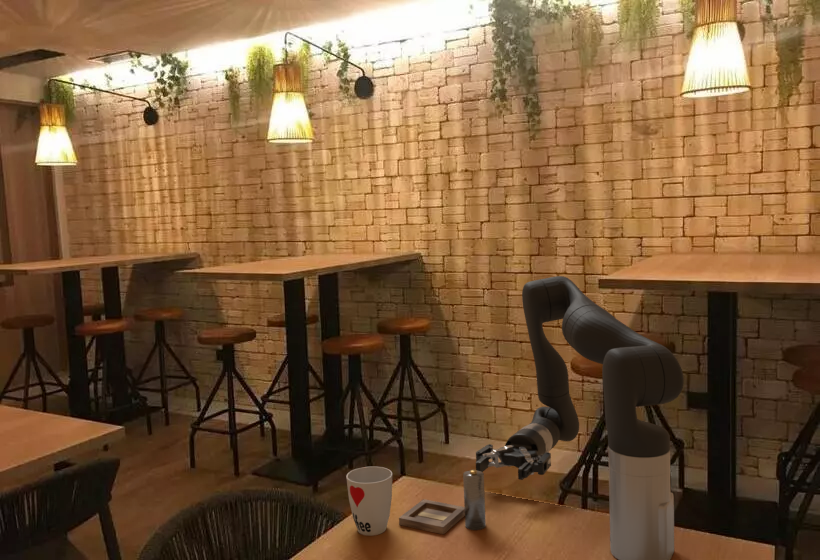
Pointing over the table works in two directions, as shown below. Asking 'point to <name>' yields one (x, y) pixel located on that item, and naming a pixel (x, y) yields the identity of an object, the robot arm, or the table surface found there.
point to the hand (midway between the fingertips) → (498, 471)
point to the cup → (370, 498)
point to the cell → (474, 500)
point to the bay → (432, 516)
